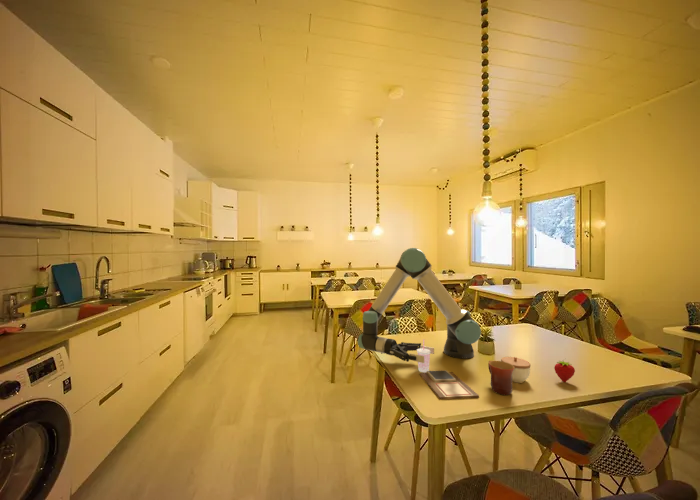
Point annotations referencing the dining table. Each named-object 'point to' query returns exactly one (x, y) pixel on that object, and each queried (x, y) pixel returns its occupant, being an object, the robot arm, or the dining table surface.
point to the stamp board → (448, 385)
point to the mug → (501, 377)
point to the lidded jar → (518, 368)
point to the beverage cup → (426, 353)
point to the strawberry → (564, 370)
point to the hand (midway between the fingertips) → (429, 355)
